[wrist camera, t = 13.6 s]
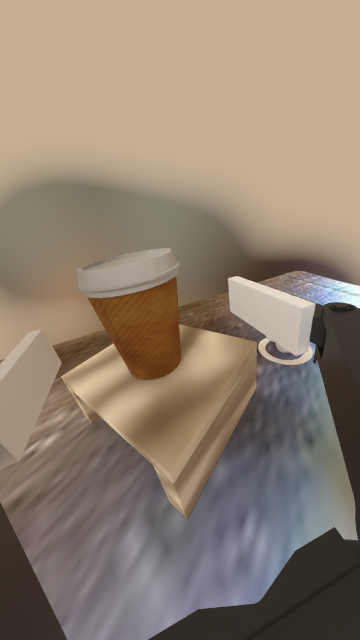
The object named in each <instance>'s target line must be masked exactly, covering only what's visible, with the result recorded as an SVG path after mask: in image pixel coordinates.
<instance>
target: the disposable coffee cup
mask: <svg viewBox="0 0 360 640" xmlns="http://www.w3.org/2000/svg"><path fill="white" fill-rule="evenodd" d="M178 267H179V262H178V261H176V260H175V257H174V255H173V252H172V250H171V249H167V248H165V249H152V250H146V251H139V252H134V253H128V254H124V255H119V256H115V257H111V258H107V259H103V260H99V261H96V262H93V263H90V264H87V265H84V266H82V267H80V268H78V269H77V270H76V271H77V277H78V284H77V286H76V287H77V288H78V289H79V290H80V291H82V293H83V295H84V296H86V297H87V298H88V299H89V301H90V303H91V304H92V306H93V308H94V310H95V312H96V313H97V315H98V317H99V319H100V320H101V322H102V324H103V326H104V327H105V329H106V331H107V333H108V334H109V336H110V338H111V340H112V341H113V343H114V345H115V347H116V349H117V350H118V352H119V354H120V355H121V357H122V359H123V361H124V362H125V364H126V366H127V368H128V370H129V371H130V373H131V375H132V376H133V377H135V378H137V379H141V380H153V379H158V378H161V377H164V376H165V375H167V374H169V373H171V372H172V371H173V370H174V369H175V368H176V367H177V366H178V365H179V363H180V361H181V347H180V330H179V312H178V295H177V281H176V275H177V273H178V269H177V268H178Z"/></svg>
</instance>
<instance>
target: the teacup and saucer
mask: <svg viewBox="0 0 360 640" xmlns="http://www.w3.org/2000/svg"><path fill="white" fill-rule="evenodd" d="M265 336H266V335H265ZM266 337H267V336H266ZM270 341H272V342H275V341H273V340H272V339H270V338H269V337H267V338H265V339H263V340H262V341H260V343H259V345H258V350H259V352H260V353H261V355H262V356H264V357H265V358H266V359H268V360H270V361H272V362H275V363H279V364H284V365H297V364H302V363H305V362H307V361H308V360H310V359H311V357H312V355H313V351H312V349H311V347H310V346H309V349H308V352H305V353H304V354H303V356H302V357H300V358H298V359H295V360H281V359H277V358H275V357H273V356H271V355H269V354H268V353H267V351H266V349H265V346H266V344H267V343H268V342H270ZM275 343H276V342H275ZM276 347H277V349H278V350H279V351H280V352H282V353H290V352H289V351H288V350H286V349H285V348H284V347H282V346H281V345H279V344H278V343H276Z"/></svg>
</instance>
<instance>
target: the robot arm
mask: <svg viewBox="0 0 360 640" xmlns="http://www.w3.org/2000/svg"><path fill="white" fill-rule="evenodd" d="M228 285H229V301H230V311H231V312H232V313H234V314H235V315H237V316H238V317H239V318H241V319H242V320H244V321H245V322H247V323H248V324H250V325H251V326H253V327H254V328H256V329H257V330H259V331H260V332H261V333H263V334H264V335H266V336H267V337H269V338H270V339H272V340H273V341H275V342H276V343H278V344H279V345H281V346H282V347H284V348H285V349H286V350H288V351H289V352H291V353H292V354H294V355H295V356H298V355H300V354H303V353H305V352H308V349H309V343H310V342H312V343H314V344H316V349H315V355H314V360H313V363H316V360H318V364H319V368H320V371H321V375H322V379H323V382H324V386H325V390H326V394H327V397H328V401H329V405H330V409H331V412H332V416H333V420H334V423H335V427H336V431H337V435H338V438H339V442H340V446H341V450H342V453H343V457H344V461H345V464H346V468H347V472H348V476H349V479H350V483H351V487H352V491H353V494H354V499H355V506H356V517H355V521H356V530H357V536H358V540H347V539H345V540H344V539H343V538H342V536H341V535H340V534H339V532H338V531H337V530H336V528H335V527H334V528H333V529H331V530H329V531H328V532H326V533H324V534H323V535H321V536H319V537H318V538H316V539H314V540H313V541H311V542H309V543H308V544H306V545H304V546H303V547H301V548H299V549H298V550H296V551H295V552H294V553H293V555H292V556H291V558H290V559H289V561H288V562H287V563H286V565H285V566H284V568H283V569H282V571H281V572H280V574H279V575H278V576H277V578H276V579H275V581H274V582H273V584H272V585H271V587H270V588H269V589H268V591H267V592H266V594H265V595H264V597H263V598H262V599H261V600H260V601H259V602H257V603H255V604H249V605H238V606H228V607H217V608H207V609H198V610H197V611H195V612H193V613H192V614H190V615H188V616H187V617H185V618H183V619H182V620H180V621H178V622H177V623H175V624H173V625H172V626H170V627H168V628H167V629H165V630H163V631H162V632H160V633H158V634H157V635H155V636H154V637H152V638H150V639H149V640H360V308H359V309H358V308H357V307H356V306H354V305H351V304H347V303H338V302H335V303H328V304H325V305H324V306H323V305H320V304H317V303H314V302H311V301H308V300H306V299H303V298H300V297H297V296H294V295H291V294H287V293H284V292H281V291H278V290H275V289H273V288H270V287H267V286H264V285H261V284H258V283H255V282H252V281H250V280H247V279H244V278H241V277H238V276H236V277H232V278H228ZM61 364H62V362H61V360H60V359H59V357H58V355H57V354H56V352H55V350H54V348H53V347H52V345H51V343H50V342H49V340H48V338H47V336H46V335H45V333H44V332H43V330H42V329H40V330H36V331H33V332H29V333H28V334H27V335H26V337H25V338H24V339H23V340H22V341H21V342H20V343H19V344H18V345H17V346H16V348H15V349H14V350H13V351H12V352H11V353H10V354H9V355H8V356H7V358H6V359H5V360H4V361H3V362H2V363H1V364H0V469H1V468H3V467H6V466H9V465H11V464H14V463H17V462H19V461H20V459H21V456H22V454H23V452H24V449H25V447H26V445H27V443H28V440H29V438H30V436H31V433H32V431H33V429H34V426H35V424H36V422H37V419H38V417H39V415H40V412H41V410H42V408H43V405H44V403H45V401H46V398H47V396H48V394H49V391H50V389H51V387H52V384H53V382H54V380H55V378H56V375H57V373H58V371H59V368H60V366H61ZM0 640H67V638H66V636H65V634H64V632H63V630H62V628H61V626H60V624H59V622H58V620H57V618H56V616H55V614H54V612H53V610H52V608H51V605H50V603H49V601H48V599H47V597H46V595H45V593H44V591H43V589H42V587H41V585H40V583H39V581H38V579H37V577H36V575H35V573H34V571H33V569H32V567H31V564H30V562H29V560H28V558H27V556H26V554H25V552H24V550H23V548H22V546H21V544H20V542H19V540H18V538H17V536H16V534H15V532H14V530H13V528H12V526H11V524H10V521H9V519H8V517H7V515H6V513H5V511H4V509H3V507H2V505H1V503H0Z"/></svg>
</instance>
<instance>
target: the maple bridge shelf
mask: <svg viewBox="0 0 360 640" xmlns="http://www.w3.org/2000/svg"><path fill="white" fill-rule="evenodd" d="M179 330H180V347H181V361H180V363H179V365H178V366H177V367H176V368H175V369H174V370H173V371H172V372H171V373H169V374H167V375H165V376H164V377H161V378H158V379H153V380H141V379H137V378H135V377H133V376H132V375H131V373H130V371H129V370H128V368H127V366H126V364H125V362H124V361H123V359H122V357H121V355H120V354H119V352H118V350H117V349H116V347H115V345H114V343H113V344H112V345H110V346H109V347H107V348H105V349H104V350H102V351H101V352H99V353H98V354H96V355H94V356H93V357H91V358H90V359H88V360H87V361H85V362H83V363H82V364H80V365H79V366H77V367H76V368H74V369H72V370H71V371H69V372H68V373H66V374H65V375H63V376H61V377H62V379H63V380H64V382H65V384H66V385H67V387H68V389H69V390H70V392H71V394H72V395H73V397H74V399H75V400H76V402H77V403H78V405H79V407H80V408H81V410H82V412H83V413H84V415H85V416H86V417H87V419H88V420H89V421H90V422H91V423H93V422H95V421H96V420H97V419H98V418H99V417H101V418H102V419H103V420H105V421H106V422H107V423H108V424H109V425H110V426H111V427H112V428H113V429H114V430H115V431H117V432H118V433H119V434H120V435H121V436H122V437H123V438H124V439H125V440H126V441H127V442H128V443H130V444H131V445H132V446H133V447H134V448H135V449H136V450H137V451H138V452H139V453H140V454H142V455H143V456H144V457H145V458H146V459H147V460H148V461H149V462H150V463H151V464H152V465H153V466H154V468H155V470H156V472H157V475H158V477H159V479H160V481H161V484H162V486H163V488H164V490H165V493H166V495H167V497H168V499H169V502H170V503H171V504H172V505H173V506H174V507H175V508H176V509H177V510H178V511H179V512H180V513H181V514H182V515H183V516H184V517H185V518H186V519H188V518H189V516H190V514H191V512H192V510H193V508H194V506H195V504H196V502H197V500H198V498H199V496H200V495H201V493H202V491H203V489H204V487H205V485H206V483H207V481H208V479H209V477H210V475H211V473H212V472H213V470H214V468H215V466H216V464H217V462H218V460H219V458H220V456H221V454H222V452H223V450H224V449H225V447H226V445H227V443H228V441H229V439H230V437H231V435H232V433H233V431H234V429H235V427H236V426H237V424H238V422H239V420H240V418H241V416H242V414H243V412H244V410H245V408H246V406H247V404H248V403H249V401H250V399H251V397H252V395H253V393H254V391H255V389H256V373H257V342H254V341H250V340H246V339H241V338H237V337H233V336H228V335H224V334H220V333H215V332H211V331H207V330H202V329H198V328H194V327H189V326H185V325H181V324H179Z"/></svg>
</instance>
